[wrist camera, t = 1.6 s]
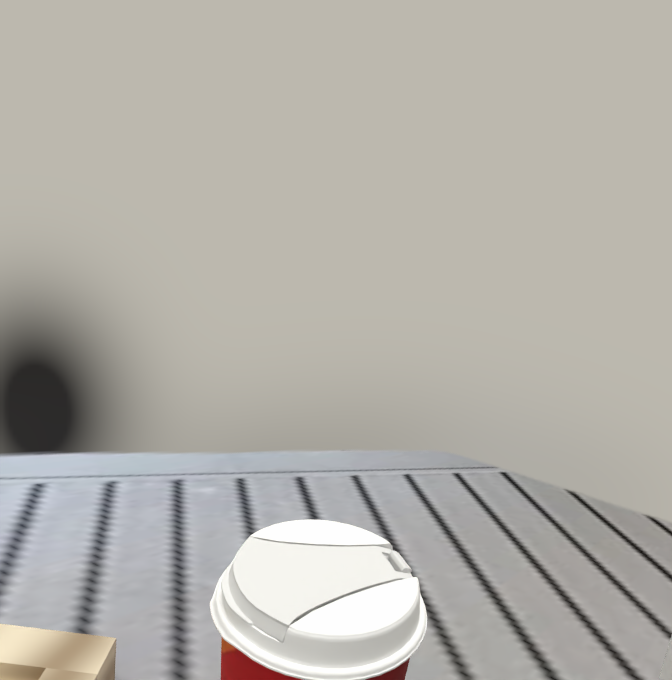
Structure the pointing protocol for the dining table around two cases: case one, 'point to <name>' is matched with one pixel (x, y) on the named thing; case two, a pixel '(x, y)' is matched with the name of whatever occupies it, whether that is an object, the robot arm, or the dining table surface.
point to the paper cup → (317, 606)
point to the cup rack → (54, 655)
